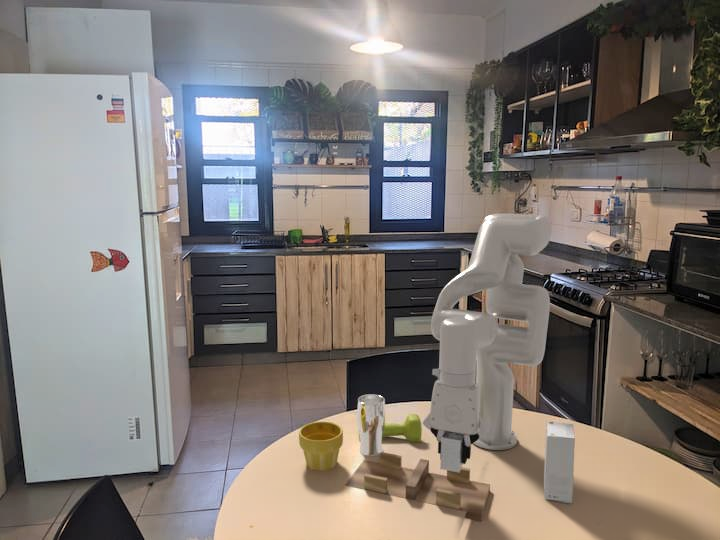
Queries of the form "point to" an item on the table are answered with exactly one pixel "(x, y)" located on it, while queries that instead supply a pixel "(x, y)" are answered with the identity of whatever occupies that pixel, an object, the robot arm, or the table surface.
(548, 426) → the skincare box
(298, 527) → the table surface
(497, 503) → the table surface
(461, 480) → the board
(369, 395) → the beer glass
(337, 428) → the plant pot
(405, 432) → the dumbbell
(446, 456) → the grey rectangular block
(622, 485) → the table surface
